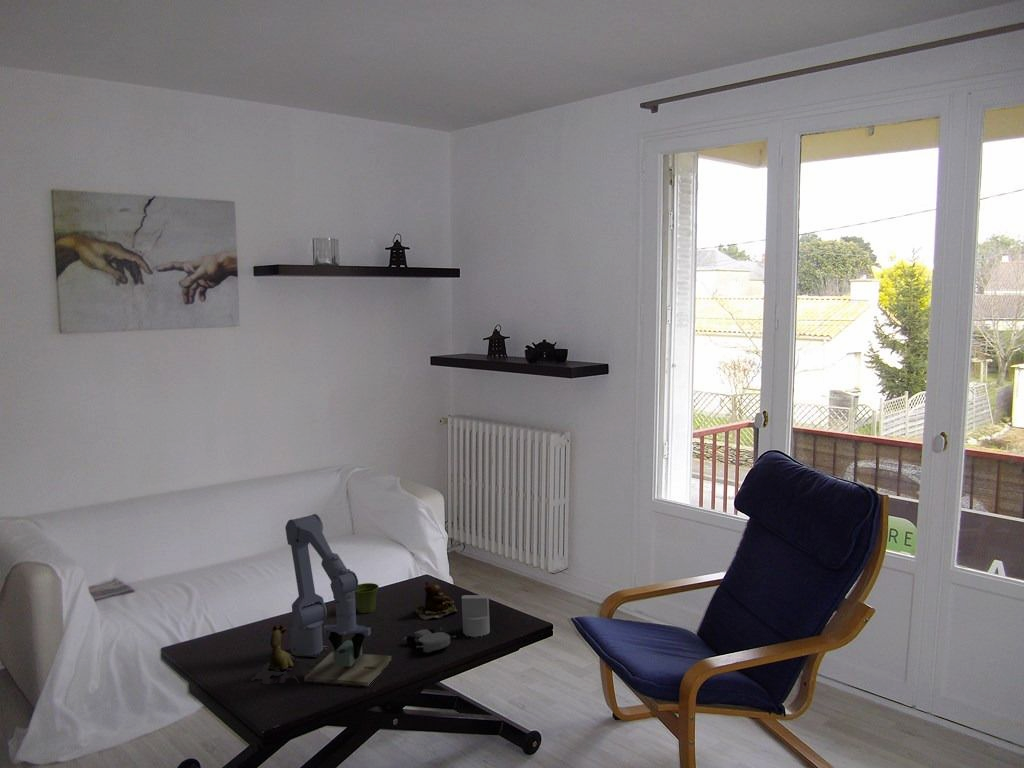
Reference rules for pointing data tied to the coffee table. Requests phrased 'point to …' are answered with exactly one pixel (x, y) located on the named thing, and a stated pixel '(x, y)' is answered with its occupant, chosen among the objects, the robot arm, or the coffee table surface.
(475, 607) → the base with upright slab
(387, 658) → the base
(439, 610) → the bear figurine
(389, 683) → the coffee table surface
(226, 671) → the coffee table surface
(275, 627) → the stuffed giraffe
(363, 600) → the plant pot
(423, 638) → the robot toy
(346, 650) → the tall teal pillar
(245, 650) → the coffee table surface
